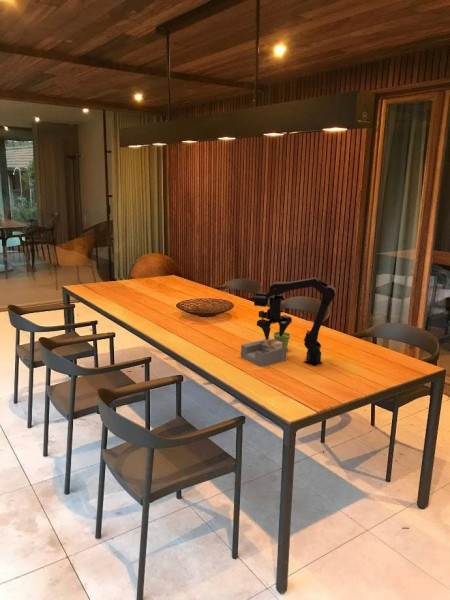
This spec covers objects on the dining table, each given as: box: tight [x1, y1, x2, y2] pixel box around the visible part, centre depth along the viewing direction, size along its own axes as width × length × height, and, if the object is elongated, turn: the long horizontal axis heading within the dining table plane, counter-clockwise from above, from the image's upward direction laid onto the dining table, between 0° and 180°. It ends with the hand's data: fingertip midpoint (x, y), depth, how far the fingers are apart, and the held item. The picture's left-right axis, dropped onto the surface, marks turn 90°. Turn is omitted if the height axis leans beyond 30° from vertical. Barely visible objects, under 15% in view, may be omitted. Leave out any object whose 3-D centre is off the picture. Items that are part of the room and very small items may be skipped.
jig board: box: [240, 339, 288, 368], centre depth 239 cm, size 16×16×6 cm
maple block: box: [263, 337, 283, 350], centre depth 240 cm, size 9×4×4 cm, turn 36°
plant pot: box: [272, 331, 292, 349], centre depth 253 cm, size 9×9×9 cm
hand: (273, 338), depth 239 cm, fingers open, 9 cm apart
